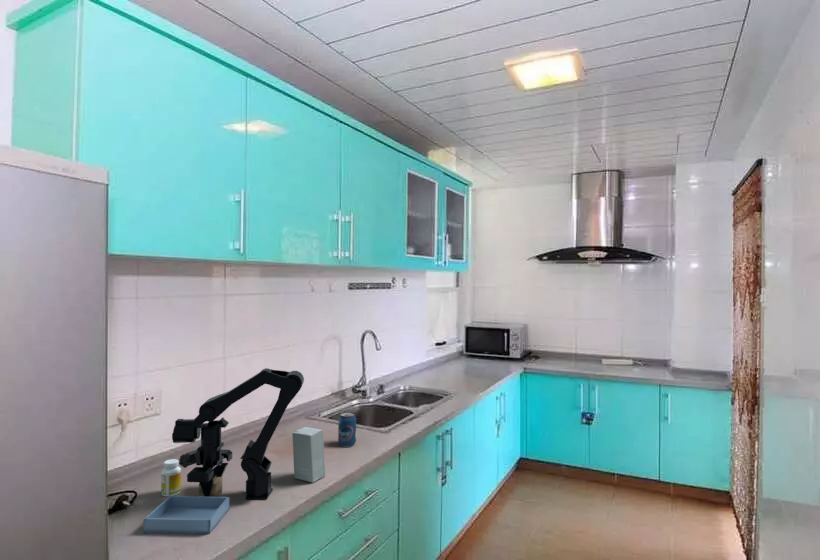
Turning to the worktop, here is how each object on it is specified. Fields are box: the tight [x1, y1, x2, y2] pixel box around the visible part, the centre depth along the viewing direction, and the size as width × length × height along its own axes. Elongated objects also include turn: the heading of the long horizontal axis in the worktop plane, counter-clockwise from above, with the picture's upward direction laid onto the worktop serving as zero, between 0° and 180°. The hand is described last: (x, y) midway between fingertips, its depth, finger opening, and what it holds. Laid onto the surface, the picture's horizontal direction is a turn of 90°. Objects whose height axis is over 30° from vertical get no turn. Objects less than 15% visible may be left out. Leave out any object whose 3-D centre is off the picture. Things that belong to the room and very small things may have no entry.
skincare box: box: [291, 426, 326, 484], centre depth 161 cm, size 8×7×16 cm
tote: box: [143, 495, 231, 535], centre depth 133 cm, size 17×13×4 cm
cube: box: [198, 476, 223, 497], centre depth 147 cm, size 5×5×5 cm
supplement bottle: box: [160, 458, 182, 498], centre depth 149 cm, size 5×5×10 cm
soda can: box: [337, 411, 357, 448], centre depth 193 cm, size 7×7×12 cm
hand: (210, 493), depth 147 cm, fingers closed on cube, 5 cm apart
